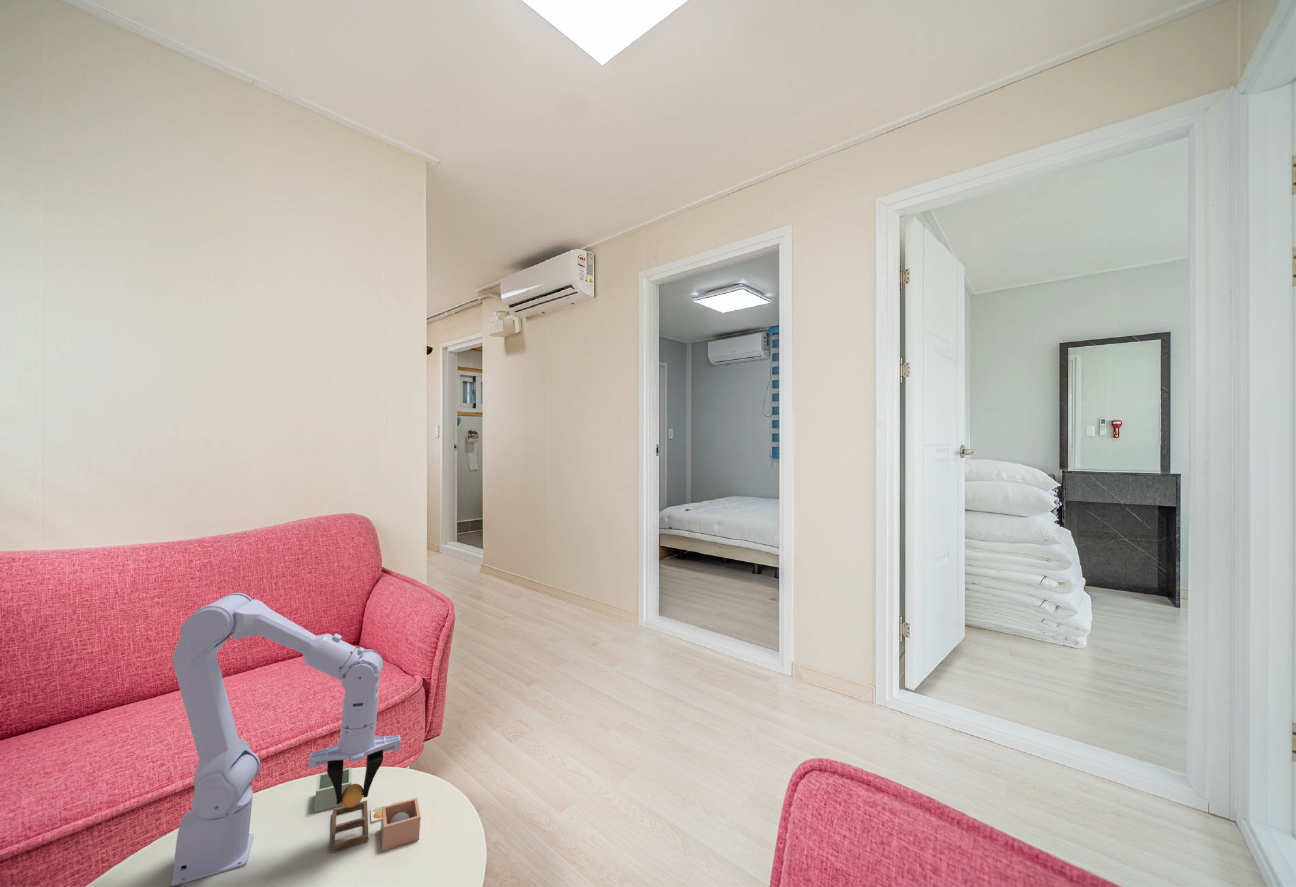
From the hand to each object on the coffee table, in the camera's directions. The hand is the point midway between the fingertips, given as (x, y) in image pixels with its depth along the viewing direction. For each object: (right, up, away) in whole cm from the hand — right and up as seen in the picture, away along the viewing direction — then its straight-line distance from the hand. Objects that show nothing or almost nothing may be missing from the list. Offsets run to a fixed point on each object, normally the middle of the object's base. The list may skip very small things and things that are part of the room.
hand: (352, 797), depth 91 cm
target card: (+3, -8, +6) cm, 10 cm away
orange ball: (0, 0, 0) cm, 0 cm away
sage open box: (-10, -7, +9) cm, 15 cm away
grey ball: (+8, -6, +1) cm, 10 cm away
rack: (-2, -7, +2) cm, 7 cm away
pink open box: (+8, -7, +1) cm, 11 cm away
